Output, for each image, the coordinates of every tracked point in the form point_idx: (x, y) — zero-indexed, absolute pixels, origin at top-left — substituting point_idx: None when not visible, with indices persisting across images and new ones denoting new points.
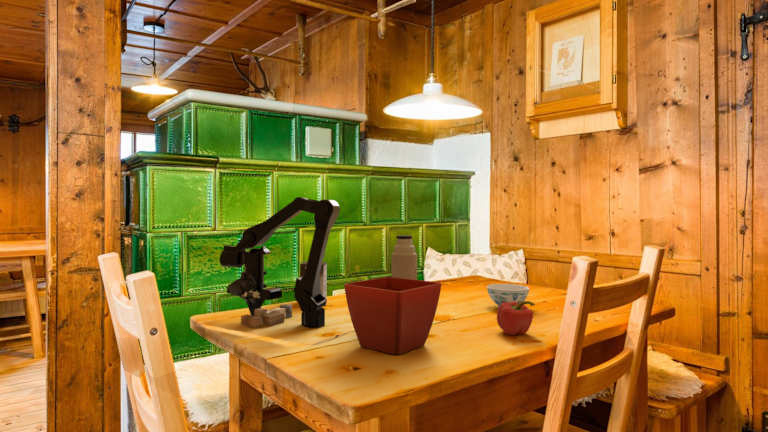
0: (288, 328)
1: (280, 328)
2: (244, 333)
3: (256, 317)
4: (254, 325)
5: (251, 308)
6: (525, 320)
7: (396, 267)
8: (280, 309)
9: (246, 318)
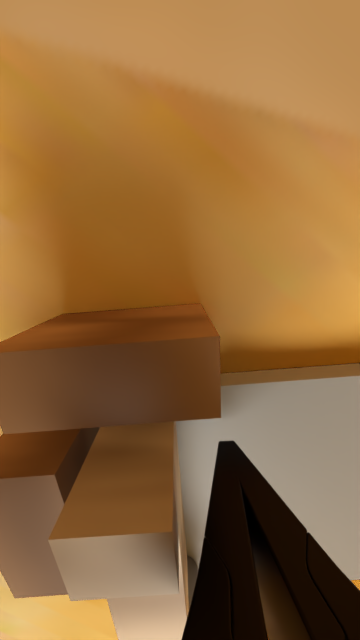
0: None
1: None
2: (90, 249)
3: (19, 396)
4: (38, 326)
5: (260, 538)
6: None
7: None
8: (118, 635)
9: (127, 337)
